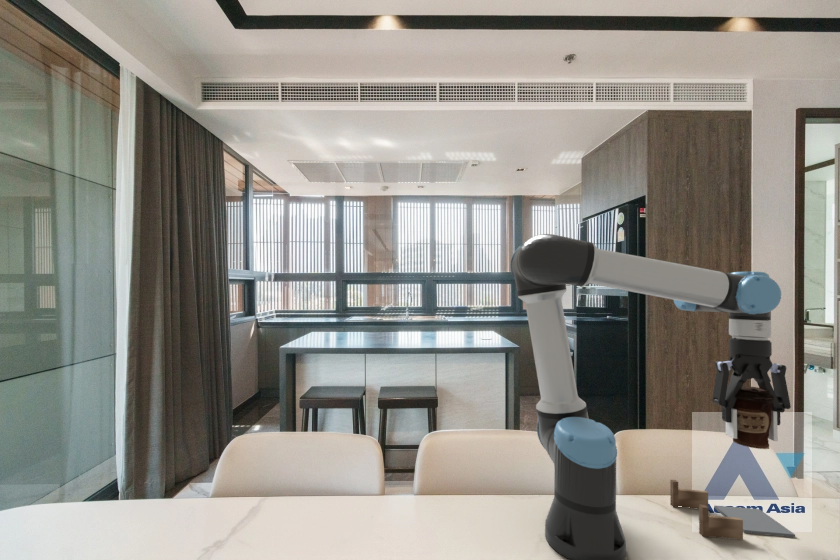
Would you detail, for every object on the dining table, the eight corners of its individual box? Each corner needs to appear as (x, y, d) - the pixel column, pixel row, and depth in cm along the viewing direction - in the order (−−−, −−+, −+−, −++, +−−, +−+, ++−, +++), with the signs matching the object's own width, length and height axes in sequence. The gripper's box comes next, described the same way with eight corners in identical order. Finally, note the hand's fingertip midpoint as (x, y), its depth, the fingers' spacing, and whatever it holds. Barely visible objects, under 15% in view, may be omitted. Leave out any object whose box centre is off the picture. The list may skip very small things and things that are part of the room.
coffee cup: (778, 455, 83) (776, 394, 83) (728, 446, 88) (727, 388, 88) (772, 444, 89) (771, 387, 90) (727, 435, 94) (726, 382, 95)
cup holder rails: (702, 536, 82) (702, 507, 82) (670, 504, 94) (670, 479, 95) (743, 540, 81) (743, 510, 81) (705, 507, 93) (705, 482, 94)
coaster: (744, 532, 83) (744, 529, 83) (714, 507, 93) (714, 505, 93) (795, 537, 82) (795, 534, 82) (759, 511, 92) (759, 509, 92)
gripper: (712, 337, 87) (713, 440, 86) (813, 341, 85) (815, 447, 84) (692, 334, 95) (693, 429, 93) (784, 338, 92) (786, 435, 91)
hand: (751, 437), depth 89 cm, fingers closed on coffee cup, 8 cm apart
